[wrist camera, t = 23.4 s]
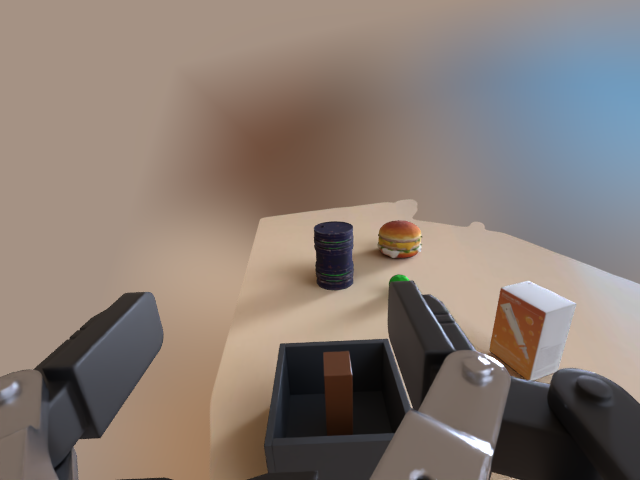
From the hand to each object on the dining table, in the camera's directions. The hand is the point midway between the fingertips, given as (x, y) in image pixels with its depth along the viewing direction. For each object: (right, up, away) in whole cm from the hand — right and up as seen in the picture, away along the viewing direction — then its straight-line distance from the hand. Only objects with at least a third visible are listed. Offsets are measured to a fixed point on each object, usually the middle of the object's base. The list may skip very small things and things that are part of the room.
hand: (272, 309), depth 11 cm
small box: (+36, -18, +44) cm, 60 cm away
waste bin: (+4, -24, +32) cm, 40 cm away
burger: (+26, -2, +90) cm, 94 cm away
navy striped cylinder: (+6, -9, +74) cm, 75 cm away
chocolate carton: (+4, -23, +31) cm, 39 cm away
